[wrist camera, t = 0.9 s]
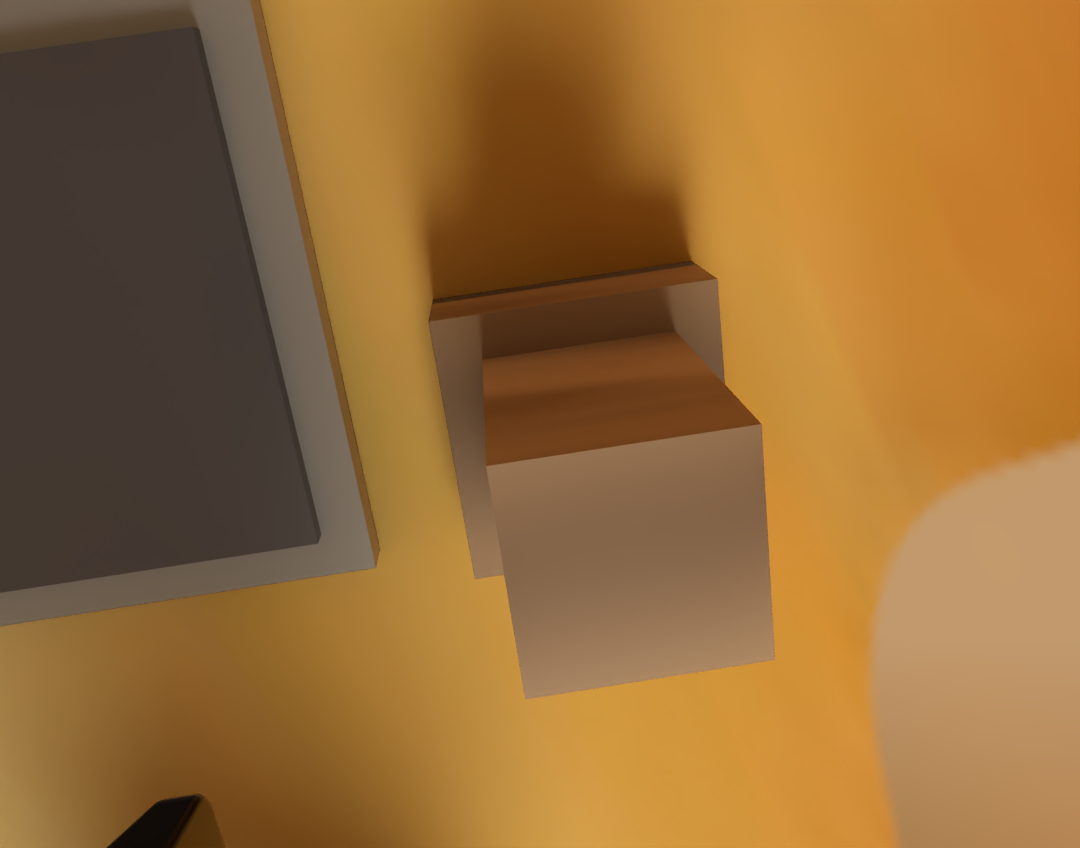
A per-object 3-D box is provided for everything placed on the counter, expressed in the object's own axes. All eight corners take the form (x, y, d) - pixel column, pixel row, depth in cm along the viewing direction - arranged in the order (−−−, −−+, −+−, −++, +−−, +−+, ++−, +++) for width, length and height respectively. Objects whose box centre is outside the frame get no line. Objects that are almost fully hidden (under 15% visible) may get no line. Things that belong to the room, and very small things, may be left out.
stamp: (709, 496, 19) (834, 699, 12) (474, 532, 19) (475, 756, 12) (691, 260, 17) (823, 352, 11) (433, 299, 17) (408, 414, 11)
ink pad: (380, 549, 19) (373, 577, 18) (-152, 631, 19) (-193, 666, 17) (252, -33, 15) (234, -45, 14) (-412, 60, 15) (-485, 56, 14)
